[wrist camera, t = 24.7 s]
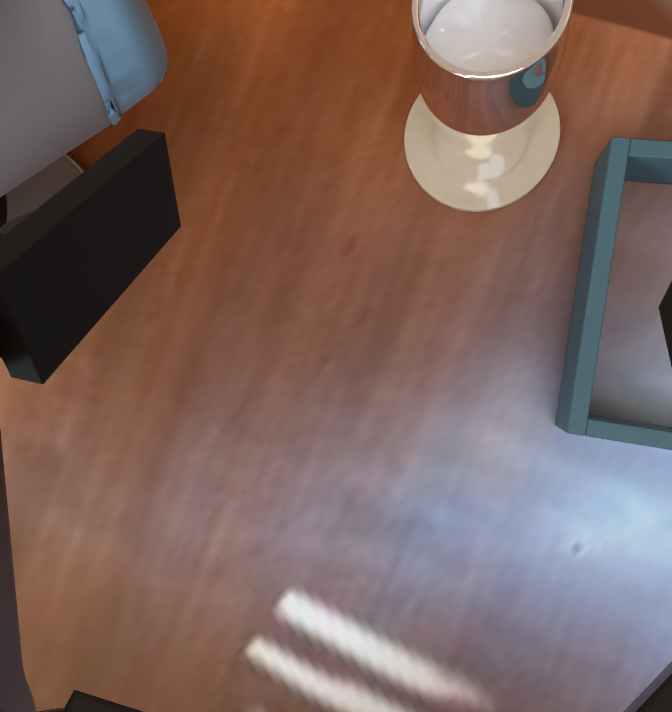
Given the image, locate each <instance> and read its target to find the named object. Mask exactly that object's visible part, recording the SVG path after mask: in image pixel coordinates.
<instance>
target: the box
mask: <svg viewBox="0 0 672 712" xmlns="http://www.w3.org/2000/svg"><path fill="white" fill-rule="evenodd" d="M624 181H637V182H650V183H662V184H672V141H660V140H644V139H631V140H630V138H617V137H612V138H611V140H610V141H609V143H608V144H607V146H606V147H605V149H604V151H603V152H602V154H601V155H600V157H599V158H598V160H597V161H596V163H595V167H594V173H593V180H592V186H591V193H590V200H589V206H588V213H587V219H586V226H585V232H584V239H583V245H582V252H581V259H580V265H579V272H578V278H577V285H576V291H575V298H574V305H573V311H572V318H571V324H570V331H569V337H568V344H567V350H566V357H565V364H564V370H563V377H562V383H561V390H560V396H559V403H558V410H557V416H556V423H555V425H556V426H558V427H559V428H561V429H562V430H564V431H565V432H567V433H570V434H576V435H583V436H589V437H595V438H601V439H607V440H613V441H619V442H626V443H632V444H638V445H644V446H650V447H656V448H662V449H668V450H672V428H669V427H663V426H657V425H650V424H644V423H637V422H631V421H625V420H618V419H612V418H606V417H599V416H593V415H588V413H589V406H590V400H591V393H592V387H593V380H594V374H595V367H596V361H597V354H598V348H599V341H600V335H601V328H602V322H603V315H604V308H605V302H606V295H607V289H608V282H609V276H610V269H611V263H612V256H613V250H614V243H615V237H616V230H617V224H618V217H619V211H620V204H621V198H622V191H623V185H624Z"/></svg>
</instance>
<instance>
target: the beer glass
mask: <svg viewBox="0 0 672 712" xmlns="http://www.w3.org/2000/svg"><path fill="white" fill-rule="evenodd" d="M573 5H574V0H412V7H411V15H412V23H413V32H412V35H413V57H414V66H415V73H416V77H417V81H418V85H419V89H420V92H421V95H422V97H423V100H424V102H425V104H426V106H427V108H428V110H429V112H430V114H431V115H432V117H433V118H434V120H435V122H436V126H435V130H434V145H435V150H436V153H437V155H438V158H439V160H440V161H441V163H442V164H443V165H444V167H445V168H446V169H447V170H448V171H450V172H451V173H452V174H454V175H455V176H457V177H459V178H462V179H465V180H469V181H487V180H491V179H495V178H497V177H499V176H501V175H503V174H505V173H506V172H508V171H509V170H511V169H512V168H513V167H514V166H515V165H516V164H517V163H518V161H519V160H520V159H521V157H522V156H523V154H524V152H525V150H526V147H527V144H528V140H529V133H530V126H529V121H530V120H531V118H532V117H533V116H534V115H535V113H536V112H537V111H538V110H539V108H540V107H541V105H542V103H543V102H544V100H545V98H546V97H547V95H548V94H549V92H550V90H551V88H552V86H553V83H554V81H555V78H556V76H557V73H558V71H559V68H560V65H561V62H562V58H563V54H564V50H565V46H566V41H567V35H568V30H569V23H570V16H571V13H572V9H573Z"/></svg>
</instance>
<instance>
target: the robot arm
mask: <svg viewBox="0 0 672 712" xmlns="http://www.w3.org/2000/svg"><path fill="white" fill-rule="evenodd" d="M166 69H167V51H166V47H165V43H164V40H163V38H162V35H161V33H160V30H159V28H158V25H157V23H156V21H155V18H154V16H153V14H152V12H151V10H150V8H149V6H148V3H147V1H146V0H0V358H1V357H2V359H3V361H4V363H5V365H6V367H7V369H8V371H9V373H10V375H11V377H13V378H18V379H22V380H26V381H31V382H35V383H40V384H44V383H45V382H46V380H47V379H48V378H49V377H50V376H51V375H52V374H53V372H54V371H55V370H56V369H57V368H58V367H59V365H60V364H61V363H62V362H63V361H64V360H65V359H66V357H67V356H68V355H69V354H70V353H71V352H72V351H73V349H74V348H75V347H76V346H77V345H78V344H79V343H80V341H81V340H82V339H83V338H84V337H85V336H86V334H87V333H88V332H89V331H90V330H91V329H92V328H93V326H94V325H95V324H96V323H97V322H98V321H99V320H100V318H101V317H102V316H103V315H104V314H105V313H106V312H107V310H108V309H109V308H110V307H111V306H112V305H113V303H114V302H115V301H116V300H117V299H118V298H119V297H120V295H121V294H122V293H123V292H124V291H125V290H126V289H127V287H128V286H129V285H130V284H131V283H132V282H133V280H134V279H135V278H136V277H137V276H138V275H139V274H140V272H141V271H142V270H143V269H144V268H145V267H146V266H147V264H148V263H149V262H150V261H151V260H152V259H153V258H154V256H155V255H156V254H157V253H158V252H159V251H160V249H161V248H162V247H163V246H164V245H165V244H166V243H167V241H168V240H169V239H170V238H171V237H172V236H173V235H174V233H175V232H176V231H177V230H178V229H179V228H180V227H181V225H180V219H179V214H178V208H177V202H176V196H175V190H174V185H173V179H172V173H171V167H170V161H169V156H168V150H167V144H166V138H165V133H162V132H155V131H148V130H141V129H137V130H136V131H134V132H133V133H132V134H131V135H129V136H128V137H127V138H126V139H124V140H123V141H122V142H121V143H119V144H118V145H117V146H115V147H114V148H113V149H112V150H110V151H109V152H108V153H107V154H105V155H104V156H103V157H102V158H100V159H99V160H98V161H97V162H95V163H94V164H93V165H91V166H90V167H89V168H88V169H86V168H85V167H84V166H83V165H81V164H80V163H79V162H78V161H77V160H75V159H74V158H72V157H71V156H69V155H67V153H68V152H70V151H71V150H73V149H74V148H76V147H77V146H79V145H80V144H82V143H83V142H85V141H86V140H88V139H89V138H91V137H92V136H94V135H95V134H97V133H98V132H100V131H101V130H103V129H104V128H106V127H107V126H109V125H110V124H112V125H116V124H118V122H119V121H120V120H121V115H122V114H123V113H125V112H126V111H127V110H129V109H130V108H131V107H133V106H134V105H135V104H137V103H138V102H139V101H140V100H142V99H143V98H144V97H146V96H147V95H148V94H150V93H151V92H152V91H154V90H155V89H156V88H157V87H158V86H159V85H160V83H161V82H162V80H163V79H164V76H165V72H166ZM659 311H660V316H661V320H662V325H663V329H664V334H665V339H666V343H667V348H668V352H669V357H670V362H671V366H672V282H671V284H670V286H669V288H668V290H667V292H666V294H665V296H664V298H663V300H662V302H661V304H660V305H659ZM0 712H37V711H36V707H35V703H34V700H33V697H32V694H31V691H30V689H29V686H28V684H27V681H26V678H25V674H24V670H23V664H22V655H21V644H20V633H19V623H18V612H17V602H16V591H15V580H14V570H13V559H12V548H11V538H10V527H9V516H8V506H7V495H6V484H5V474H4V463H3V452H2V442H1V431H0ZM39 712H142V711H139V710H136V709H133V708H130V707H126V706H123V705H120V704H117V703H114V702H111V701H108V700H105V699H101V698H98V697H95V696H92V695H89V694H86V693H83V692H80V691H76V690H74V691H73V693H72V695H71V697H70V699H69V701H68V702H67V704H66V706H65V708H57V709H50V710H44V711H39ZM624 712H672V662H671V663H670V664H669V665H668V666H667V667H666V668H665V669H664V670H663V671H662V672H661V673H660V674H659V675H658V676H657V677H656V678H655V679H654V681H653V682H652V683H651V684H650V685H649V686H648V687H647V688H646V689H645V690H644V691H643V692H642V693H641V694H640V695H639V696H638V697H637V698H636V699H635V700H634V701H633V702H632V703H631V704H630V706H629V707H628V708H627V709H626V710H625V711H624Z"/></svg>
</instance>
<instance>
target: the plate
mask: <svg viewBox="0 0 672 712" xmlns="http://www.w3.org/2000/svg"><path fill="white" fill-rule="evenodd" d="M435 126H436V122H435V120H434V118H433V117H432V115H431V114H430V112H429V110H428V108H427V106H426V104H425V102H424V100H423V97H422V95H421V93H420V94H419V96H418V98H417V99H416V101H415V102H414V104H413V106H412V108H411V110H410V113H409V116H408V119H407V122H406V127H405V134H404V148H405V154H406V159H407V162H408V165H409V168H410V171H411V173H412V175H413V177H414V178H415V180H416V181H417V183H418V184H419V186H420V187H421V188H422V189H423V190H424V191H425V192H426V193H427V194H428V195H429V196H431V197H432V198H433V199H435V200H436V201H438V202H439V203H441V204H443V205H446V206H448V207H450V208H453V209H457V210H461V211H468V212H484V211H491V210H496V209H500V208H502V207H505V206H508V205H510V204H512V203H514V202H516V201H518V200H520V199H521V198H523V197H524V196H526V195H527V194H528V193H529V192H530V191H532V190H533V189H534V188H535V187H536V186H537V185H538V184H539V183H540V181H541V180H542V179H543V178H544V176H545V175H546V173H547V172H548V170H549V168H550V166H551V164H552V162H553V160H554V158H555V155H556V152H557V149H558V144H559V140H560V119H559V114H558V109H557V106H556V104H555V101H554V99H553V97H552V95H551V93H550V92H549V94H548V95H547V97H546V98H545V100H544V102H543V103H542V105H541V107H540V108H539V110H538V111H537V112H536V113H535V115H534V116H533V117H532V118H531V120H530V121H529V126H530V133H529V140H528V144H527V147H526V150H525V152H524V154H523V156H522V157H521V159H520V160H519V161H518V163H517V164H516V165H515V166H514V167H513V168H512V169H511V170H509V171H508V172H506V173H505V174H503V175H501V176H499V177H497V178H495V179H491V180H487V181H469V180H465V179H462V178H459V177H457V176H455V175H454V174H452V173H451V172H450V171H448V170H447V169H446V168H445V167H444V165H443V164H442V163H441V161H440V160H439V158H438V155H437V153H436V150H435V145H434V130H435Z"/></svg>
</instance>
